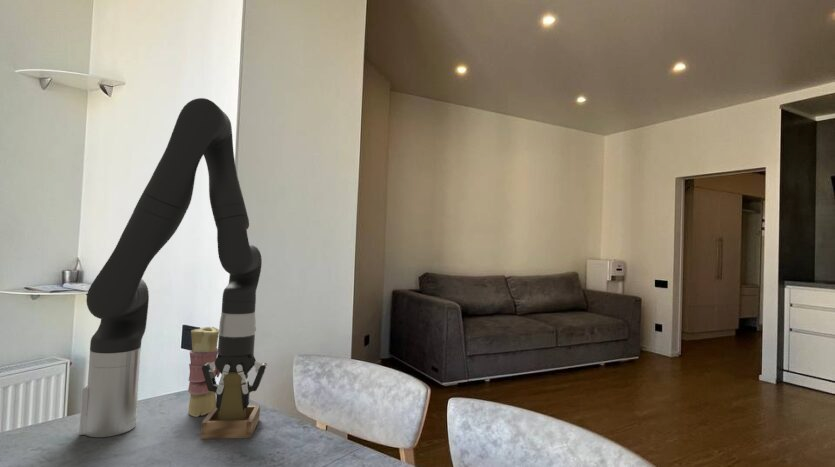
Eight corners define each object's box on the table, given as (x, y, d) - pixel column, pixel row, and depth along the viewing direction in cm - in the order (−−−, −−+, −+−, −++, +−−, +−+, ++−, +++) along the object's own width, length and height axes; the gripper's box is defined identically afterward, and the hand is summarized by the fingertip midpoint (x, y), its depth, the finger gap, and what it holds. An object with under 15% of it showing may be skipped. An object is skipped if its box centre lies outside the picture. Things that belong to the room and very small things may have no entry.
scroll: (226, 407, 112) (231, 326, 113) (209, 418, 105) (215, 332, 105) (197, 404, 113) (202, 325, 114) (179, 415, 105) (184, 330, 106)
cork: (227, 427, 95) (231, 375, 96) (211, 420, 99) (214, 370, 99) (252, 419, 100) (254, 369, 101) (235, 412, 104) (238, 364, 104)
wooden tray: (200, 438, 94) (201, 422, 94) (214, 420, 104) (215, 405, 104) (250, 437, 95) (251, 421, 95) (259, 419, 105) (260, 405, 105)
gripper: (198, 335, 95) (192, 416, 95) (267, 336, 98) (262, 415, 97) (208, 328, 103) (203, 404, 102) (272, 329, 105) (268, 403, 104)
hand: (232, 409), depth 100 cm, fingers closed on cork, 4 cm apart
